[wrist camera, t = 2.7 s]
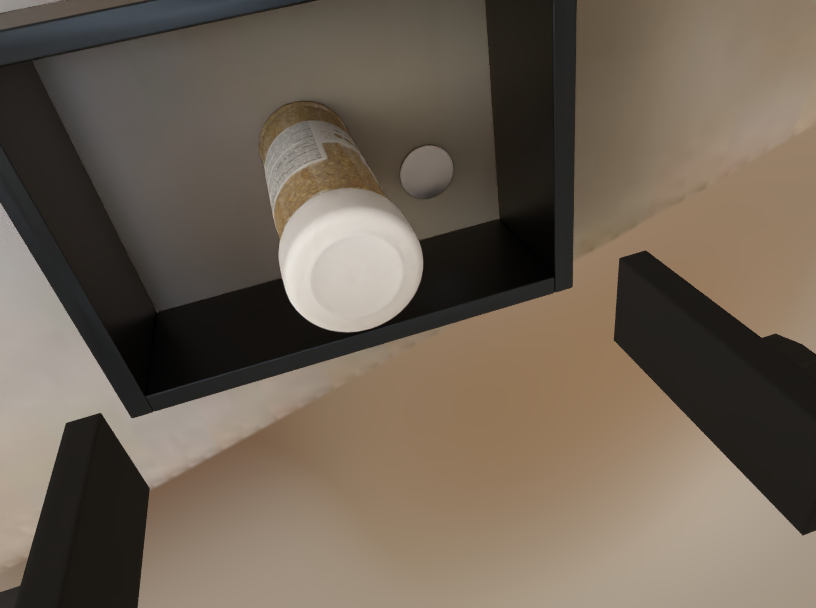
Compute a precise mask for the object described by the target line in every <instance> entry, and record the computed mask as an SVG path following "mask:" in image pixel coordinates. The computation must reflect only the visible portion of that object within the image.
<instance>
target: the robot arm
mask: <svg viewBox="0 0 816 608" xmlns="http://www.w3.org/2000/svg"><path fill="white" fill-rule="evenodd" d="M614 341H615V342H616V343H617V344H618V345H619V346H620V347H621V348H622V349H623V350H624V351H625V352H626V353H627V354H628V355H629V356H630V357H631V358H632V359H633V360H634V361H635V362H636V363H637V364H638V365H639V367H640V368H641V369H643V371H644V372H645V373H646V374H647V375H648V376H649V377H650V378H651V379H652V380H653V381H654V382H655V383H656V384H657V385H658V386H659V387H660V388H661V389H662V390H663V391H664V392H665V393H666V394H667V395H668V396H669V397H670V399H671V400H672V401H673V402H674V403H675V404H676V405H677V406H678V407H679V408H680V409H681V410H682V411H683V412H684V413H685V414H686V415H687V416H688V417H689V418H690V419H691V420H692V421H693V422H694V423H695V424H696V425H697V427H699V429H700V430H701V431H702V432H703V433H704V434H705V435H706V436H707V437H708V438H709V439H710V440H711V441H712V442H713V443H714V444H715V445H716V446H717V447H718V448H719V449H720V450H721V451H722V452H723V453H724V454H725V455H726V457H727V458H728V459H729V460H730V461H731V462H732V463H733V464H734V465H735V466H736V467H737V468H738V469H739V470H740V471H741V472H742V473H743V474H744V475H745V476H746V477H747V478H748V479H749V480H750V481H751V482H752V483H753V484H754V485H755V486H756V487H757V489H758V490H759V491H760V492H761V493H762V494H763V495H764V496H765V497H766V498H767V499H768V500H769V501H770V502H771V503H772V504H773V505H774V506H775V507H776V508H777V509H778V510H779V511H780V512H781V513H782V514H783V515H784V516H785V517H786V519H787V520H789V522H790V523H791V524H793V526H794V527H795V528H796V529H797V530H798V531H799V532H800V533H801V534H802V535H805V534H808V533H810V532H813V531H816V354H815V353H813V352H812V351H810V350H809V349H808V348H806V347H805V346H804V345H802V344H800V343H798V342H795V341H793V340H790V339H788V338H785V337H782V336H780V335H778V334H773V335H770V336H767V337H764V338H761V337H760V336H758V335H757V334H756V333H754V332H753V331H752V330H750V329H749V328H748V327H746V326H745V325H744V324H742V323H741V322H740V321H739V320H737V319H736V318H735V317H733V316H732V315H731V314H729V313H728V312H727V311H725V310H724V309H723V308H721V307H720V306H719V305H717V304H716V303H715V302H713V301H712V300H711V299H709V298H708V297H707V296H705V295H704V294H703V293H701V292H700V291H699V290H697V289H696V288H695V287H693V286H692V285H691V284H690V283H688V282H687V281H686V280H684V279H683V278H682V277H680V276H679V275H678V274H676V273H675V272H674V271H672V270H671V269H670V268H668V267H667V266H666V265H664V264H663V263H662V262H660V261H659V260H658V259H656V258H655V257H654V256H652V255H651V254H650V253H648V252H647V251H642V252H639V253H636V254H632V255H629V256H626V257H622V258H620V259H619V273H618V287H617V303H616V318H615V332H614ZM149 489H150V488H149V487H148V485H147V484H146V482H145V481H144V479H143V477H142V476H141V474H140V473H139V471H138V470H137V468H136V467H135V465H134V463H133V462H132V460H131V459H130V457H129V456H128V454H127V453H126V451H125V450H124V448H123V446H122V445H121V443H120V442H119V440H118V439H117V437H116V436H115V434H114V433H113V431H112V429H111V428H110V426H109V425H108V423H107V422H106V420H105V419H104V417H103V415H102V414H101V413H98V414H95V415H92V416H88V417H85V418H82V419H78V420H75V421H72V422H68V423H66V425H65V429H64V432H63V436H62V439H61V443H60V447H59V450H58V454H57V457H56V461H55V464H54V468H53V471H52V475H51V479H50V482H49V486H48V489H47V493H46V496H45V500H44V504H43V507H42V511H41V514H40V518H39V521H38V525H37V529H36V532H35V536H34V539H33V543H32V546H31V550H30V554H29V557H28V561H27V564H26V568H25V571H24V575H23V579H22V582H21V586H18V587H15V588H13V589H9V590H6V591H3V592H0V608H137V607H138V597H139V587H140V578H141V567H142V558H143V548H144V538H145V528H146V518H147V508H148V499H149Z"/></svg>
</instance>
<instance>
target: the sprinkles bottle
mask: <svg viewBox="0 0 816 608" xmlns="http://www.w3.org/2000/svg"><path fill="white" fill-rule="evenodd" d="M259 150H260V156H261V160H262V163H263V165H264V167H265V176H266V181H267V187H268V192H269V198H270V203H271V208H272V213H273V218H274V223H275V227H276V229H277V232H278V234H279V238H280V244H279V254H278V256H279V265H280V270H281V275H282V279H283V283H284V287H285V290H286V293H287V295H288V298H289V300H290V302H291V303H292V305H293V306H294V308H295V309H296V310H297V311H298V312H299V313H300V314H301V315H302V316H303V317H304V318H305V319H307V320H308V321H310V322H311V323H313V324H315V325H317V326H319V327H321V328H324V329H327V330H331V331H338V332H358V331H363V330H367V329H371V328H374V327H377V326H379V325H381V324H383V323H385V322H387V321H389V320H390V319H392V318H393V317H395V316H396V315H397V314H398V313H400V312H401V311H402V310H403V309H404V308H405V307H406V306H407V304H408V303H409V302H410V301H411V299H412V298H413V296H414V295H415V293H416V291H417V289H418V286H419V284H420V281H421V277H422V272H423V254H422V249H421V246H420V243H419V241H418V238H417V236H416V235H415V233H414V231H413V229H412V228H411V226H410V224H409V223H408V221H407V220H406V218H405V217H404V215H403V214H402V212H401V211H400V210H399V209H398V207H397V206H395V205H394V204H393V203H392V202H391V201H390V200H388V199H387V198H386V197H385V195H384V193H383V191H382V190H381V188H380V186H379V184H378V182H377V180H376V178H375V176H374V174H373V172H372V171H371V169H370V167H369V166H368V164H367V162H366V161H365V159H364V158H363V156H362V154H361V153H360V151H359V149H358V148H357V146H356V144H355V143H354V141H353V140H352V138H351V137H350V135H349V133H348V130H347V128H346V126H345V124H344V123H343V121H342V120H341V119H340V118H339V116H338V115H337V114H335V113H334V112H333V111H332V110H330V109H329V108H327V107H325V106H324V105H321V104H317V103H314V102H296V103H291V104H289V105H285V106H282V107H281V108H280V109H279V110H277V111H276V112H275V113H273V114H272V115H271V117H270V118H269V119H268V120H267V121H266V123H265V125H264V127H263V129H262V131H261V134H260V143H259Z"/></svg>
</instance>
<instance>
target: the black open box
mask: <svg viewBox="0 0 816 608" xmlns="http://www.w3.org/2000/svg"><path fill="white" fill-rule="evenodd" d="M312 1H317V0H64V1H59V2H53V3H48V4H43V5H38V6H33V7H28V8H23V9H18V10H13V11H8V12H3V13H0V203H1V204H2V206H3V208H4V209H5V211H6V212H7V214H8V216H9V217H10V219H11V221H12V222H13V224H14V226H15V227H16V229H17V231H18V232H19V234H20V236H21V237H22V239H23V240H24V242H25V244H26V245H27V247H28V249H29V250H30V252H31V254H32V255H33V257H34V259H35V260H36V262H37V263H38V265H39V267H40V268H41V270H42V272H43V273H44V275H45V277H46V278H47V280H48V282H49V283H50V285H51V286H52V288H53V290H54V291H55V293H56V295H57V296H58V298H59V300H60V301H61V303H62V305H63V306H64V308H65V309H66V311H67V313H68V314H69V316H70V318H71V319H72V321H73V323H74V324H75V326H76V328H77V329H78V331H79V333H80V334H81V336H82V337H83V339H84V341H85V342H86V344H87V346H88V347H89V349H90V351H91V352H92V354H93V356H94V357H95V359H96V360H97V362H98V364H99V365H100V367H101V369H102V370H103V372H104V374H105V375H106V377H107V379H108V380H109V382H110V383H111V385H112V387H113V388H114V390H115V392H116V393H117V395H118V397H119V398H120V400H121V402H122V403H123V405H124V406H125V408H126V410H127V411H128V413H129V415H130V416H131V418H135V417H138V416H142V415H145V414H149V413H152V412H153V411H158V410H161V409H165V408H168V407H171V406H175V405H178V404H181V403H185V402H188V401H192V400H195V399H198V398H202V397H205V396H208V395H212V394H215V393H219V392H222V391H225V390H229V389H232V388H235V387H239V386H242V385H246V384H249V383H252V382H256V381H259V380H262V379H266V378H269V377H273V376H276V375H279V374H283V373H286V372H289V371H293V370H296V369H299V368H303V367H306V366H310V365H313V364H316V363H320V362H323V361H326V360H330V359H333V358H337V357H340V356H343V355H347V354H350V353H353V352H357V351H360V350H364V349H367V348H370V347H374V346H377V345H380V344H384V343H387V342H390V341H394V340H397V339H401V338H404V337H407V336H411V335H414V334H417V333H421V332H424V331H428V330H431V329H434V328H438V327H441V326H444V325H448V324H451V323H455V322H458V321H461V320H465V319H468V318H471V317H475V316H478V315H481V314H485V313H488V312H491V311H495V310H498V309H501V308H505V307H508V306H512V305H515V304H519V303H522V302H525V301H529V300H532V299H535V298H539V297H542V296H546V295H549V294H552V293H554V291H555V292H559V291H562V290H565V289H569V288H572V286H573V221H574V151H575V81H576V11H577V0H485V2H486V17H487V32H488V47H489V62H490V77H491V92H492V107H493V122H494V136H495V151H496V166H497V181H498V196H499V211H500V219H498V220H494V221H490V222H487V223H483V224H479V225H476V226H472V227H469V228H465V229H461V230H458V231H454V232H450V233H447V234H443V235H439V236H436V237H432V238H428V239H425V240H421V241H419V243H420V246H421V249H422V254H423V272H422V277H421V281H420V284H419V286H418V289H417V291H416V293H415V295H414V296H413V298H412V299H411V301H410V302H409V303H408V304H407V306H406V307H405V308H404V309H403V310H402V311H401V312H400V313H398V314H397V315H396V316H395V317H393V318H392V319H390V320H389V321H387V322H385V323H383V324H381V325H379V326H377V327H374V328H371V329H367V330H363V331H358V332H338V331H331V330H327V329H324V328H321V327H319V326H317V325H315V324H313V323H311V322H310V321H308V320H307V319H305V318H304V317H303V316H302V315H301V314H300V313H299V312H298V311H297V310H296V309H295V308H294V306H293V305H292V303H291V302H290V300H289V298H288V295H287V293H286V290H285V287H284V283H283V279H279V280H275V281H272V282H268V283H264V284H261V285H257V286H253V287H250V288H246V289H243V290H239V291H235V292H232V293H228V294H224V295H221V296H217V297H213V298H210V299H206V300H202V301H199V302H195V303H191V304H188V305H184V306H181V307H177V308H173V309H170V310H166V311H162V312H159V313H156V311H155V309H154V307H153V305H152V303H151V301H150V299H149V297H148V295H147V293H146V291H145V289H144V287H143V285H142V283H141V281H140V279H139V277H138V275H137V273H136V271H135V269H134V267H133V265H132V263H131V261H130V259H129V257H128V255H127V253H126V251H125V249H124V247H123V245H122V243H121V241H120V239H119V237H118V235H117V233H116V231H115V229H114V227H113V225H112V223H111V221H110V219H109V217H108V215H107V213H106V211H105V209H104V207H103V204H102V202H101V200H100V198H99V196H98V194H97V192H96V190H95V188H94V186H93V184H92V182H91V180H90V178H89V176H88V174H87V172H86V170H85V168H84V166H83V164H82V162H81V160H80V158H79V156H78V154H77V152H76V150H75V148H74V146H73V144H72V142H71V140H70V138H69V136H68V134H67V132H66V130H65V128H64V126H63V124H62V122H61V120H60V118H59V116H58V114H57V112H56V110H55V108H54V106H53V104H52V102H51V100H50V98H49V96H48V94H47V92H46V90H45V88H44V86H43V84H42V82H41V80H40V78H39V76H38V74H37V72H36V70H35V68H34V66H33V64H32V62H31V61H32V60H37V59H42V58H47V57H51V56H56V55H61V54H66V53H70V52H75V51H80V50H85V49H89V48H94V47H99V46H104V45H108V44H113V43H118V42H122V41H127V40H132V39H137V38H141V37H146V36H151V35H156V34H160V33H165V32H170V31H175V30H179V29H184V28H189V27H194V26H198V25H203V24H208V23H213V22H217V21H222V20H227V19H232V18H236V17H241V16H246V15H251V14H255V13H260V12H265V11H270V10H274V9H279V8H284V7H289V6H293V5H298V4H303V3H308V2H312ZM399 176H400V182H401V184H402V186H403V188H404V189H405V191H406V192H407V193H408V194H410V195H411V196H413V197H415V198H419V199H429V198H433V197H435V196H437V195H439V194H440V193H442V192H443V191H444V190H445V189H446V188H447V187H448V185H449V183H450V182H451V179H452V176H453V162H452V159H451V157H450V156H449V154H448V153H447V152H446V151H445V150H444V149H443V148H441V147H439V146H436V145H430V144H429V145H422V146H419V147H417V148H415V149H413V150H412V151H411V152H409V153H408V154H407V156H406V157H405V158H404V160H403V162H402V164H401V167H400V173H399Z"/></svg>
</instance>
